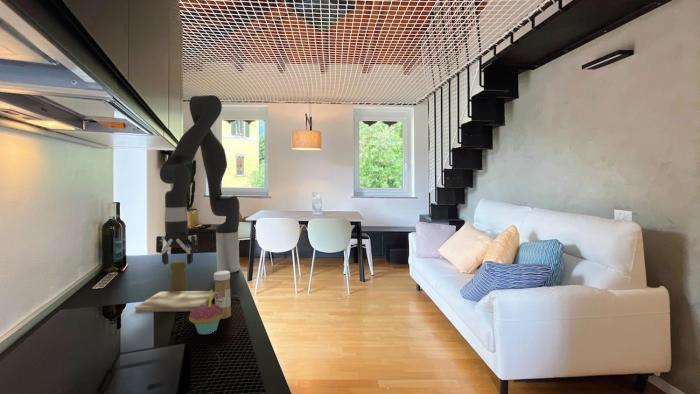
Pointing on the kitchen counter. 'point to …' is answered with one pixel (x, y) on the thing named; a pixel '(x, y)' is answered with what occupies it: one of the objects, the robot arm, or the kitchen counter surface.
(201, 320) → the cupcake
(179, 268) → the cork
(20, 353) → the kitchen counter surface
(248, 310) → the kitchen counter surface
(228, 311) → the sprinkles bottle
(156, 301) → the birch board
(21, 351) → the kitchen counter surface
